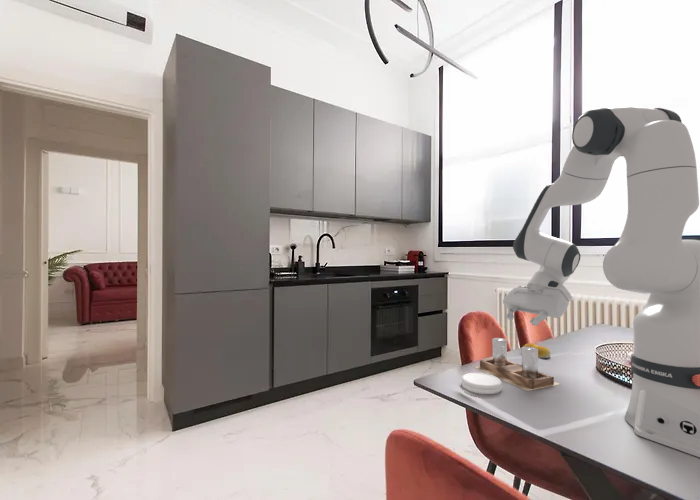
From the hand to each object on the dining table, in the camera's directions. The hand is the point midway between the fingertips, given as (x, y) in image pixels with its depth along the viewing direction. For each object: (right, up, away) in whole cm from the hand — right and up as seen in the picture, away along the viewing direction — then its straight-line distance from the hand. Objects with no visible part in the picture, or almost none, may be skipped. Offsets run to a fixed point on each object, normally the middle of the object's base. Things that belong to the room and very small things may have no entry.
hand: (520, 321), depth 110 cm
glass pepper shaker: (-8, -14, -3) cm, 16 cm away
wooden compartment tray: (-6, -15, -8) cm, 18 cm away
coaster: (-18, -15, -17) cm, 29 cm away
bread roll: (+12, -15, +14) cm, 24 cm away
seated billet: (-4, -14, -13) cm, 20 cm away
